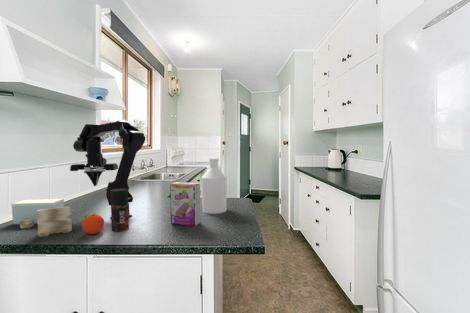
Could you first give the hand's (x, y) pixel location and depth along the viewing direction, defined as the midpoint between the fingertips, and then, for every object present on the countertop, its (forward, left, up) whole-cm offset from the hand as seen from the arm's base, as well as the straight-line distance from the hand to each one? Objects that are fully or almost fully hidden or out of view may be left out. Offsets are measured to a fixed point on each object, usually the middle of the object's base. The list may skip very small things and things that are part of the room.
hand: (95, 185), depth 116 cm
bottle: (-48, -26, -13) cm, 56 cm away
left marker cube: (+8, +24, -13) cm, 28 cm away
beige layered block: (-9, +23, -13) cm, 28 cm away
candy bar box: (-47, -4, -13) cm, 49 cm away
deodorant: (-28, +11, -13) cm, 33 cm away
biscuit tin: (+12, +17, -13) cm, 25 cm away
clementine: (-22, +18, -13) cm, 31 cm away
